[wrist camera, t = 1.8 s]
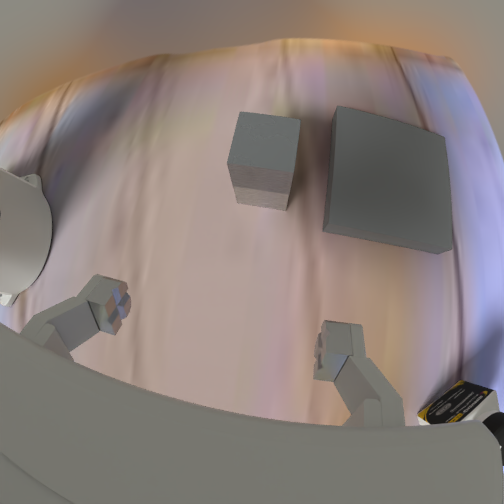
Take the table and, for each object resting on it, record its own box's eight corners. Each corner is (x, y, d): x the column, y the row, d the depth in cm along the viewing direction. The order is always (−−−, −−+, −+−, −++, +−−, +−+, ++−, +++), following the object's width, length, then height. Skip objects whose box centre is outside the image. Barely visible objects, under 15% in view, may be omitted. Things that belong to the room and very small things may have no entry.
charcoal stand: (322, 231, 29) (328, 223, 26) (332, 120, 32) (337, 105, 29) (437, 254, 28) (452, 249, 25) (433, 148, 31) (444, 137, 28)
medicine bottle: (460, 378, 25) (527, 397, 14) (470, 419, 24) (529, 445, 12) (415, 414, 25) (475, 452, 13) (428, 453, 24) (480, 495, 12)
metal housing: (237, 203, 30) (227, 163, 21) (246, 161, 31) (239, 111, 22) (285, 211, 30) (293, 172, 21) (292, 167, 31) (300, 119, 22)
